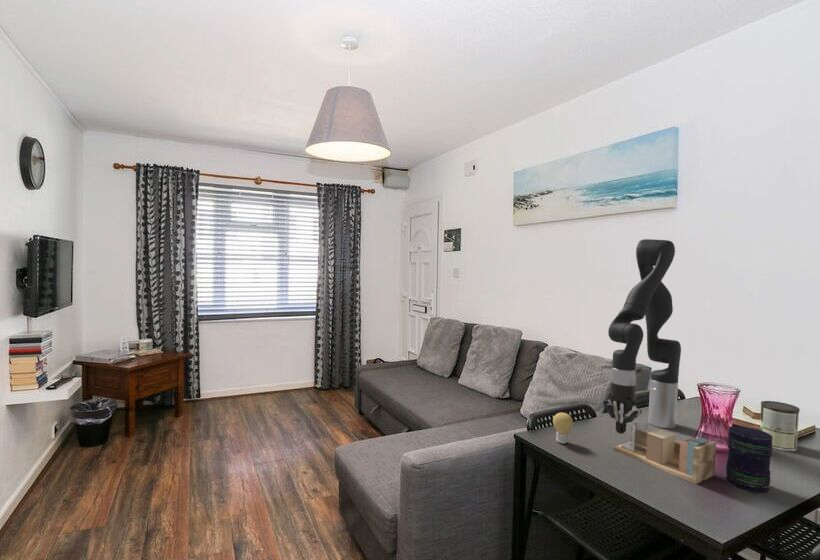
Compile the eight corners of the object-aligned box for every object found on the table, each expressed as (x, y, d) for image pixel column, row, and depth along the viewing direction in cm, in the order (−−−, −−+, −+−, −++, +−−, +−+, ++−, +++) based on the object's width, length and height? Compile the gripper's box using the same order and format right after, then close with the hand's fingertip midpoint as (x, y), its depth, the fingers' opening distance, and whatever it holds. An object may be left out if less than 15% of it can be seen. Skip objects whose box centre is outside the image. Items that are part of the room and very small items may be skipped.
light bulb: (567, 447, 142) (568, 417, 141) (548, 442, 146) (550, 412, 146) (574, 442, 146) (576, 413, 146) (556, 436, 151) (558, 408, 150)
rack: (632, 443, 147) (634, 413, 146) (714, 475, 125) (716, 440, 125) (613, 449, 141) (615, 418, 141) (695, 484, 120) (697, 447, 120)
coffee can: (751, 437, 156) (754, 399, 155) (783, 440, 154) (786, 401, 154) (770, 449, 146) (773, 408, 145) (805, 452, 144) (807, 411, 144)
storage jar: (730, 472, 128) (733, 423, 127) (772, 486, 120) (776, 433, 120) (721, 483, 121) (724, 431, 121) (765, 498, 114) (769, 442, 113)
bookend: (633, 443, 144) (634, 417, 144) (646, 448, 141) (647, 421, 140) (620, 447, 141) (622, 420, 141) (633, 452, 137) (635, 424, 137)
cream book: (659, 454, 137) (660, 429, 136) (673, 459, 133) (675, 434, 133) (646, 458, 133) (647, 433, 133) (660, 464, 129) (662, 438, 129)
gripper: (648, 385, 140) (646, 437, 141) (611, 375, 151) (609, 424, 152) (635, 388, 136) (632, 442, 137) (598, 378, 148) (596, 427, 148)
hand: (620, 432), depth 144 cm, fingers closed
